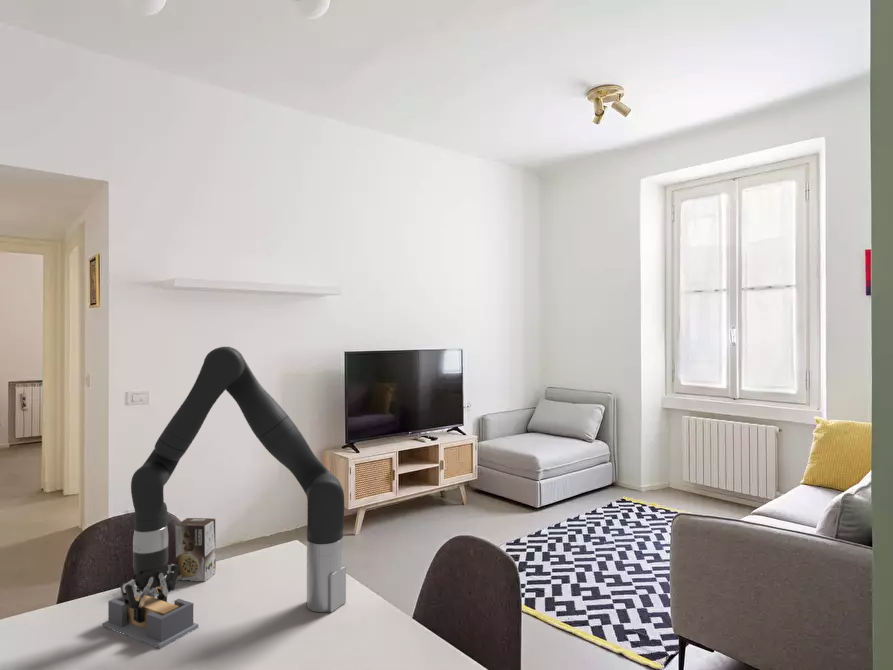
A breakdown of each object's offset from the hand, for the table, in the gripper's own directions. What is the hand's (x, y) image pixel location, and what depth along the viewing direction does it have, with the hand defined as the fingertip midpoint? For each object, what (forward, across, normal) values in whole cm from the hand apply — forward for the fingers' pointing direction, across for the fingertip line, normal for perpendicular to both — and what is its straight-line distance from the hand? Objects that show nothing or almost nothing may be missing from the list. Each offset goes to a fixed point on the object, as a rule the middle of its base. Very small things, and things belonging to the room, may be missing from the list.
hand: (150, 616), depth 132 cm
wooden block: (+2, 0, 0) cm, 2 cm away
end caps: (+3, 0, 0) cm, 3 cm away
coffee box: (+3, +24, +14) cm, 28 cm away
